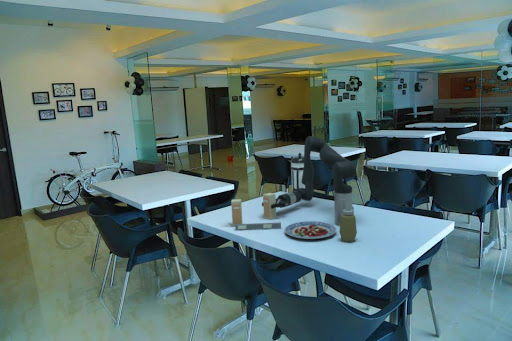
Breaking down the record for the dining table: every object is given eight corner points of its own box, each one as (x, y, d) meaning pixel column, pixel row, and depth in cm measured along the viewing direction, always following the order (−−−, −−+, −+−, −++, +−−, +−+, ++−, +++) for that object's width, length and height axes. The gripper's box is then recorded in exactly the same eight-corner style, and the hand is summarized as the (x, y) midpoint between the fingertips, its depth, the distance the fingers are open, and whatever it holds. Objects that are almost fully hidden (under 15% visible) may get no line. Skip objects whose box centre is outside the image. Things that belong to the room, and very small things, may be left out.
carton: (270, 216, 230) (269, 192, 228) (276, 217, 226) (275, 193, 224) (263, 218, 227) (262, 194, 224) (269, 219, 223) (268, 195, 220)
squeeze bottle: (344, 235, 192) (344, 199, 189) (359, 238, 187) (359, 202, 184) (336, 240, 186) (335, 203, 183) (352, 244, 181) (352, 206, 178)
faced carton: (233, 223, 219) (232, 199, 216) (242, 223, 219) (241, 199, 216) (232, 226, 214) (231, 201, 211) (241, 226, 214) (240, 201, 211)
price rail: (281, 227, 208) (280, 222, 208) (281, 228, 207) (280, 223, 206) (235, 229, 209) (235, 224, 209) (235, 230, 208) (235, 225, 207)
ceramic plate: (319, 222, 215) (319, 217, 215) (346, 236, 191) (346, 230, 191) (276, 230, 206) (276, 224, 206) (299, 246, 183) (299, 240, 182)
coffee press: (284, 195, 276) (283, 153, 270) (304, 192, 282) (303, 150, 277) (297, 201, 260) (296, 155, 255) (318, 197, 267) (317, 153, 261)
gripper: (277, 191, 239) (257, 197, 228) (295, 195, 229) (275, 201, 218) (278, 203, 241) (258, 209, 230) (296, 207, 230) (276, 214, 219)
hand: (266, 205), depth 224 cm, fingers open, 7 cm apart
